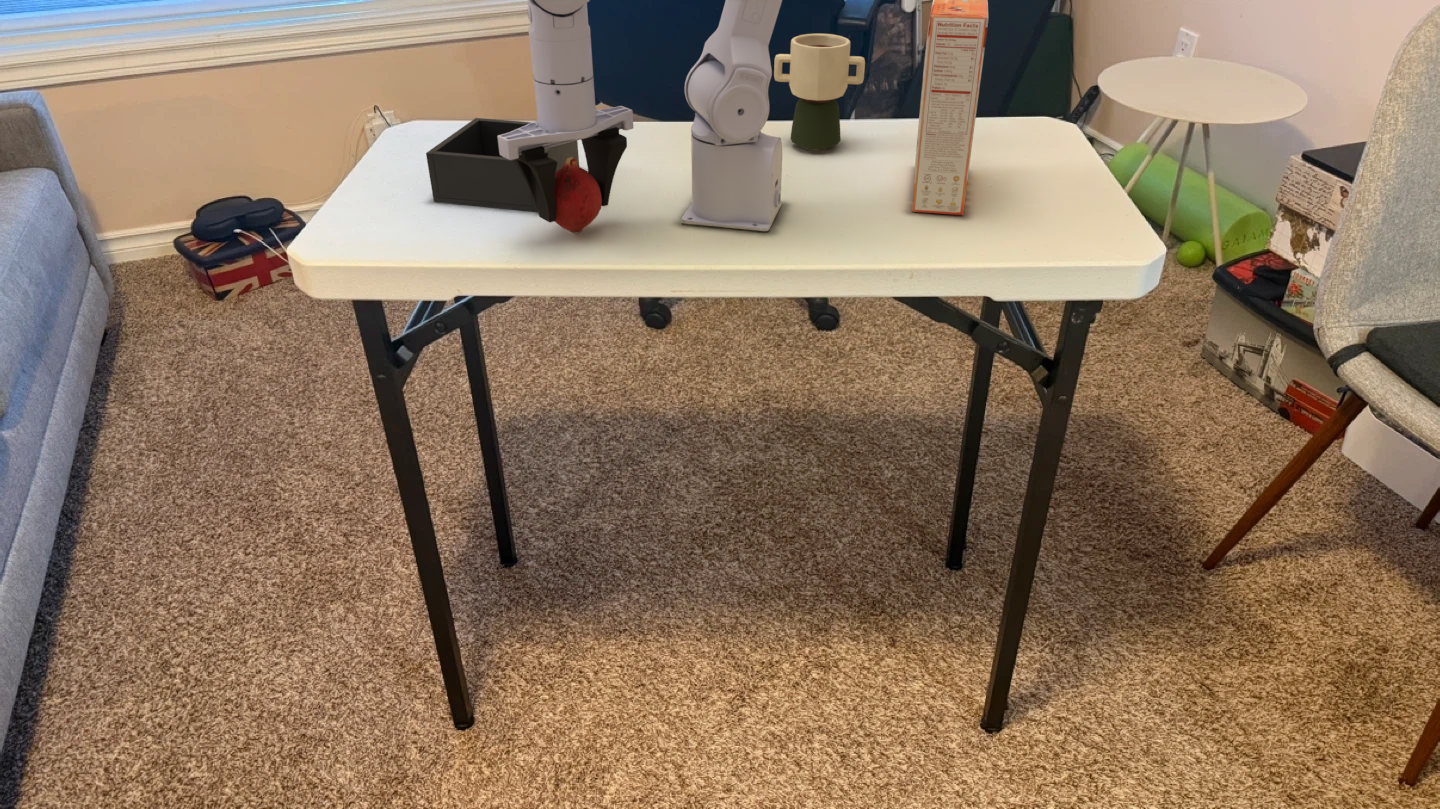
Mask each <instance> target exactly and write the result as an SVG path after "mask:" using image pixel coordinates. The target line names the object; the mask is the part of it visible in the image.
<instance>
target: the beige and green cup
mask: <svg viewBox="0 0 1440 809" xmlns="http://www.w3.org/2000/svg"><path fill="white" fill-rule="evenodd" d="M783 63H789V73H783ZM773 65H774V66H773V67H774V69H773V77H774V78H773V79H774V81H775V82H779V83H788V86H789V89H790V92H791V94H792V95H793V96H795V97H797V98H798V99H797V102H796V104H795V108H794V114H793V119H792V123H791V131H790V138H789V139H790V141H791V143H792V144H794V145H795V146H797V147H799V148H802V149H806V150H813V151H821V150H826V149H827V150H828V149H831V148H833V147H836V146H837V145H839V143H840V142H841V121H840V120H841V119H840V107H839V104H838V101H837V100H836V99H839V98H842V97H844V95H845V93H846V90H847V89H848V86H849V85H861V84H863V83H864V80H865V71H866V70H865V68H866V60H865V57H863V56H859V55H858V56H856V55H851V40H849V38H847V37H844V36H843V35H837V34H833V33H805V34H799V35H797V36H794V37H792V39H791V40H790V53H778V54H776V55H775V57H774V64H773ZM850 65H856V70H855V72H856V73H855V75H849V69H850Z"/></svg>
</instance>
